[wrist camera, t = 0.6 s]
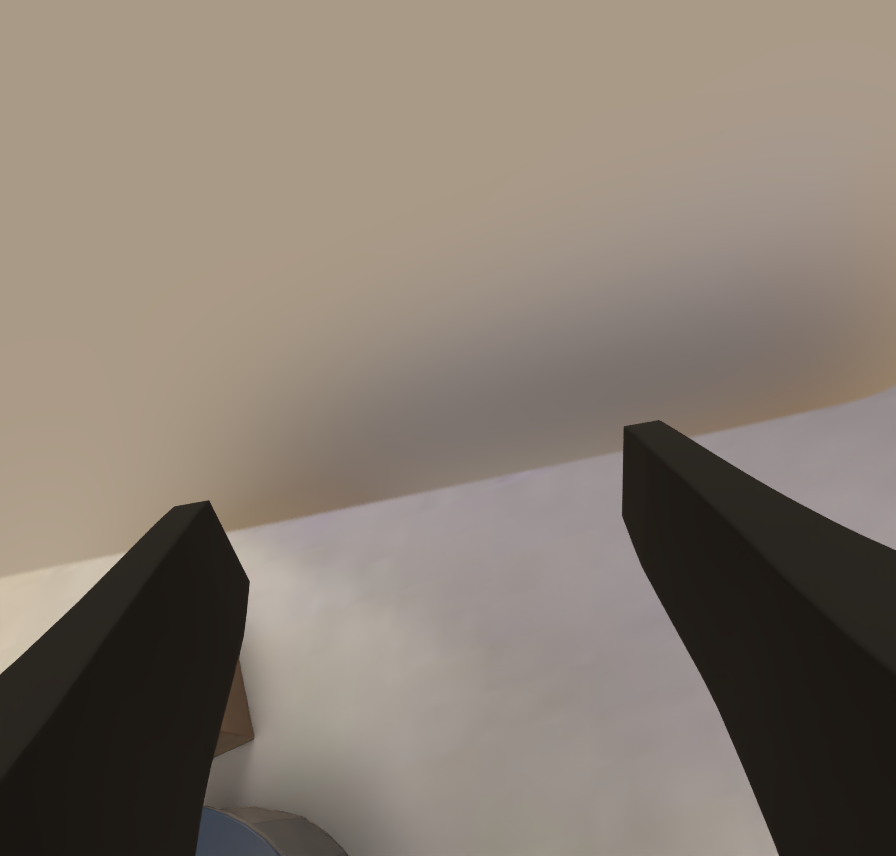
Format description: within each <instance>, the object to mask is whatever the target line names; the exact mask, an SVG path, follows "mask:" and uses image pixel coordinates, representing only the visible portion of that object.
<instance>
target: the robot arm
mask: <svg viewBox="0 0 896 856" xmlns="http://www.w3.org/2000/svg"><path fill="white" fill-rule="evenodd" d="M623 443H624V444H623V445H624V446H623V495H622V517H623V519H624V522H625V525H626V527H627V530H628V533H629V535H630V538H631V541H632V543H633V546H634V548H635V551H636V553H637V556H638V558H639V561H640V563H641V566H642V568H643V570H644V571H645V573H646V575H647V577H648V579H649V581H650V583H651V585H652V586H653V588H654V590H655V592H656V594H657V596H658V598H659V599H660V601H661V603H662V605H663V607H664V609H665V610H666V612H667V614H668V616H669V618H670V620H671V621H672V623H673V625H674V627H675V629H676V630H677V632H678V634H679V636H680V638H681V640H682V641H683V643H684V645H685V647H686V649H687V650H688V652H689V654H690V656H691V658H692V660H693V661H694V663H695V665H696V667H697V669H698V671H699V672H700V674H701V676H702V678H703V680H704V681H705V683H706V686H707V688H708V690H709V692H710V694H711V696H712V698H713V700H714V702H715V704H716V706H717V708H718V710H719V712H720V714H721V717H722V719H723V721H724V724H725V726H726V728H727V731H728V733H729V735H730V738H731V740H732V742H733V745H734V747H735V749H736V752H737V754H738V756H739V759H740V761H741V763H742V765H743V768H744V770H745V773H746V775H747V777H748V780H749V782H750V785H751V787H752V790H753V792H754V795H755V797H756V799H757V802H758V804H759V807H760V809H761V812H762V814H763V816H764V819H765V821H766V824H767V826H768V829H769V831H770V834H771V836H772V838H773V841H774V844H775V846H776V849H777V851H778V854H779V856H896V550H894V549H892V548H889V547H887V546H885V545H883V544H880V543H878V542H876V541H874V540H871V539H869V538H867V537H865V536H863V535H860V534H858V533H856V532H854V531H852V530H850V529H848V528H846V527H844V526H842V525H840V524H838V523H836V522H834V521H832V520H830V519H828V518H826V517H824V516H822V515H820V514H818V513H817V512H815V511H813V510H811V509H809V508H807V507H805V506H803V505H801V504H799V503H797V502H796V501H794V500H792V499H790V498H788V497H786V496H785V495H783V494H781V493H779V492H777V491H776V490H774V489H772V488H770V487H769V486H767V485H765V484H763V483H762V482H760V481H758V480H756V479H755V478H753V477H751V476H750V475H748V474H746V473H745V472H743V471H741V470H740V469H738V468H736V467H735V466H733V465H731V464H730V463H728V462H726V461H725V460H723V459H722V458H720V457H718V456H717V455H715V454H714V453H712V452H710V451H709V450H707V449H706V448H704V447H702V446H701V445H699V444H698V443H696V442H694V441H693V440H691V439H690V438H688V437H686V436H685V435H683V434H682V433H680V432H678V431H677V430H675V429H673V428H672V427H670V426H668V425H666V424H665V423H663V422H662V421H659V420H658V421H652V422H646V423H641V424H635V425H629V426H624V442H623ZM249 584H250V581H249V579H248V577H247V575H246V573H245V571H244V569H243V567H242V565H241V563H240V561H239V559H238V557H237V555H236V553H235V551H234V549H233V547H232V545H231V543H230V541H229V539H228V537H227V535H226V533H225V531H224V529H223V527H222V525H221V523H220V522H219V519H218V517H217V515H216V513H215V511H214V510H213V507H212V505H211V503H210V501H209V500H208V501H203V502H197V503H191V504H186V505H180V506H175V507H173V508H172V509H171V510H170V511H169V512H168V513H167V514H165V515H164V516H163V517H162V518H161V519H160V520H159V521H158V522H157V523H156V524H155V525H154V526H153V527H152V528H151V529H150V530H149V531H148V532H147V533H146V534H145V535H144V536H143V537H142V538H141V539H140V540H139V541H138V542H137V543H136V544H135V545H134V546H133V547H132V548H131V549H130V550H129V551H128V552H127V553H126V554H125V555H124V556H123V557H122V558H121V559H120V560H119V561H118V562H117V563H116V564H115V565H114V566H113V567H112V568H111V569H110V570H109V571H108V572H107V573H106V574H105V575H104V576H103V577H102V578H101V579H100V580H99V581H98V582H97V583H96V584H95V585H94V586H93V587H92V588H91V589H90V590H89V592H88V593H87V594H86V595H85V596H84V597H83V598H82V599H81V600H80V601H79V602H78V603H77V604H75V605H74V606H73V607H72V608H71V609H70V610H69V611H68V612H67V613H66V614H65V615H64V616H63V617H62V618H61V619H60V620H59V621H57V622H56V623H55V624H54V625H53V626H52V627H51V628H50V629H49V630H48V631H47V632H46V633H45V634H44V635H43V636H42V637H41V638H39V639H38V640H37V641H36V642H35V643H34V644H33V645H32V646H31V647H30V648H29V649H28V650H27V651H26V652H25V653H24V654H22V655H21V656H20V657H19V658H18V659H17V660H16V661H15V662H14V663H13V664H12V665H10V666H9V667H8V668H7V669H6V670H5V671H4V672H3V673H1V674H0V856H195V855H196V849H197V842H198V836H199V829H200V823H201V816H202V810H203V803H204V797H205V793H206V788H207V783H208V778H209V774H210V769H211V765H212V761H213V757H214V753H215V749H216V745H217V741H218V737H219V734H220V730H221V726H222V722H223V718H224V714H225V710H226V706H227V702H228V698H229V694H230V690H231V687H232V683H233V679H234V675H235V670H236V666H237V662H238V658H239V654H240V650H241V646H242V641H243V637H244V630H245V622H246V614H247V605H248V594H249Z"/></svg>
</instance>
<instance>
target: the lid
mask: <svg viewBox="0 0 896 856" xmlns="http://www.w3.org/2000/svg"><path fill="white" fill-rule="evenodd" d="M195 856H287V855H286V854H285V853H284V852H283V851H282V850H281V849H280V848H279V847H278V846H277V845H276V844H275V843H274V842H273V840H272V839H271V838H270V837H268V836H267V835H266V834H264V833H263V832H262V831H260V830H259V829H258V828H256V827H255V826H254V825H252V824H251V823H249V822H247V821H245V820H243V819H241V818H239V817H237V816H235V815H233V814H232V813H229V812H226V811H223V810H219V809H216V808H213V807H210V806H204V805H203V810H202V816H201V823H200V829H199V836H198V842H197V849H196V855H195Z"/></svg>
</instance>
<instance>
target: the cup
mask: <svg viewBox="0 0 896 856" xmlns="http://www.w3.org/2000/svg"><path fill="white" fill-rule="evenodd" d="M219 810H223V811H226V812H229V813H232V814H233V815H235V816H237V817H239V818H241V819H243V820H245V821H247V822H249V823H251V824H252V825H254V826H255V827H256V828H258V829H259V830H260V831H262V832H263V833H264V834H266V835H267V836H268V837H270V838H271V839H272V840H273V842H274V843H275V844H276V845H277V846H278V847H279V848H280V849H281V850H282V851H283V852H284V853H285V854H286V855H287V856H348V855H347V854H346V852H345V851H344V850H343V848H342V847H341V846H340V845H339V844H338V843H337V842H336V841H335V840H334V839H333V838H332V837H331V836H330V835H329V834H328V833H326V832H325V831H323V830H322V829H321V828H319V827H318V826H316V825H315V824H313V823H311V822H310V821H308V820H307V819H306V818H303V817H301V816H297V815H293V814H290V813H287V812H283V811H276V810H269V809H264V808H259V807H243V808H227V809H219Z"/></svg>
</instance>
